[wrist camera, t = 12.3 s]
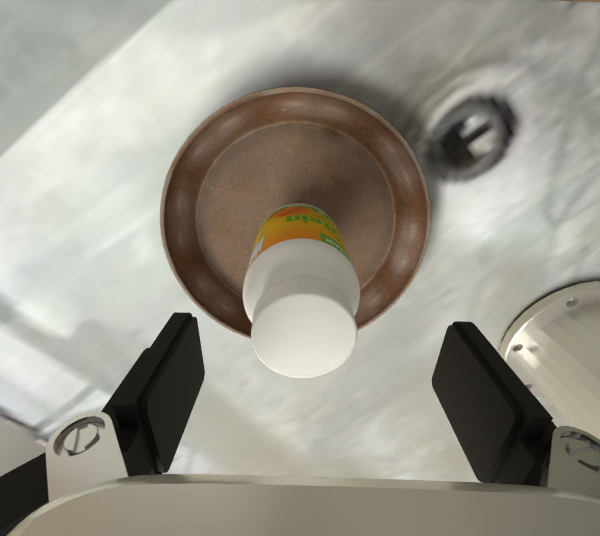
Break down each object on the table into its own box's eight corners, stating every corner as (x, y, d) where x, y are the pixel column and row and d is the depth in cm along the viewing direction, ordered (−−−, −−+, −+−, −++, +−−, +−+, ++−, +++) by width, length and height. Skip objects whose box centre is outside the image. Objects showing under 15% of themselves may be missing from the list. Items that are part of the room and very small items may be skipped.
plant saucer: (318, 16, 17) (323, -3, 14) (456, 241, 23) (478, 258, 21) (124, 211, 22) (100, 225, 19) (283, 353, 28) (282, 379, 25)
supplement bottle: (352, 219, 19) (405, 303, 10) (319, 287, 21) (340, 404, 13) (272, 188, 18) (257, 252, 9) (246, 263, 20) (214, 372, 12)
